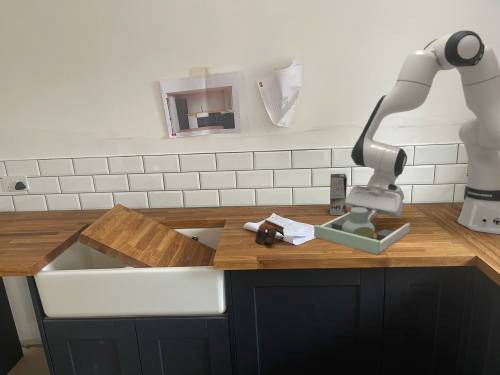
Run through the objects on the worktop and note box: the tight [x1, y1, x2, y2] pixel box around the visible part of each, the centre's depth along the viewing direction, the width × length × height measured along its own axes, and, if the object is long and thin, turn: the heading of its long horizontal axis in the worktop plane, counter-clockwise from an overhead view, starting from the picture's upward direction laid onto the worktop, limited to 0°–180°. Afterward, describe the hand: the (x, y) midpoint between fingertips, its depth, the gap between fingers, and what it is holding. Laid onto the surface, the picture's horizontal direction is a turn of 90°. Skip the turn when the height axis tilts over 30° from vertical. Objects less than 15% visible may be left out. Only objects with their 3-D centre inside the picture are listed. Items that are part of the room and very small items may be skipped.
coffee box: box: [329, 173, 348, 216], centre depth 146 cm, size 9×6×16 cm
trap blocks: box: [332, 219, 395, 241], centre depth 122 cm, size 21×6×2 cm, turn 46°
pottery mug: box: [255, 219, 285, 246], centre depth 117 cm, size 12×10×8 cm
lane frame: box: [313, 211, 411, 255], centre depth 122 cm, size 23×26×4 cm
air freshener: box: [342, 207, 376, 238], centre depth 119 cm, size 11×8×10 cm
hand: (365, 220), depth 122 cm, fingers closed
